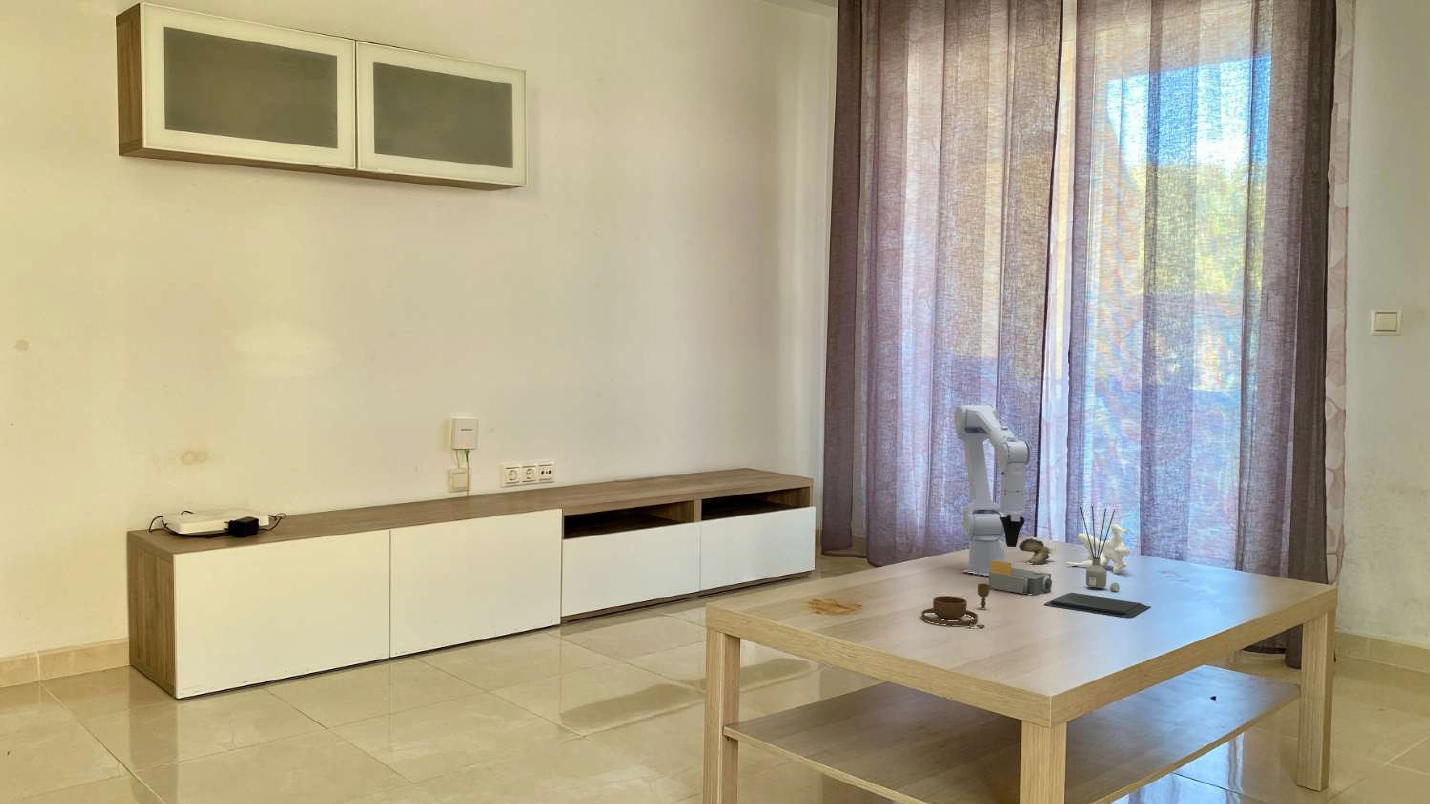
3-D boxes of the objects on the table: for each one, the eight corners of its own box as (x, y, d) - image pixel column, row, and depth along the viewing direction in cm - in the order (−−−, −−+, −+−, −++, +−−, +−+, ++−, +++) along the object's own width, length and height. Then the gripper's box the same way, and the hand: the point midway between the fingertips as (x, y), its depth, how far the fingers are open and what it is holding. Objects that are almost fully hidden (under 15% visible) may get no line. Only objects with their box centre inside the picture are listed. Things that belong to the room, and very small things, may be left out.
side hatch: (992, 587, 268) (992, 559, 267) (1028, 593, 261) (1029, 565, 261) (989, 588, 267) (990, 560, 267) (1026, 594, 260) (1026, 566, 260)
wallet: (1041, 599, 251) (1067, 588, 263) (1040, 607, 251) (1067, 596, 263) (1129, 614, 238) (1153, 602, 250) (1129, 622, 238) (1153, 610, 250)
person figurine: (1061, 525, 298) (1126, 521, 285) (1083, 531, 306) (1147, 527, 294) (1062, 574, 295) (1128, 572, 282) (1084, 578, 303) (1149, 577, 291)
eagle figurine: (1027, 553, 309) (1012, 551, 303) (1043, 533, 307) (1028, 531, 300) (1047, 571, 304) (1032, 570, 298) (1063, 551, 302) (1048, 549, 296)
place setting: (904, 614, 243) (904, 587, 243) (983, 608, 249) (984, 582, 249) (945, 634, 226) (946, 605, 226) (1029, 627, 233) (1030, 599, 233)
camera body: (1005, 582, 275) (1005, 564, 274) (1053, 591, 266) (1054, 572, 266) (989, 587, 269) (989, 569, 268) (1037, 596, 260) (1038, 577, 260)
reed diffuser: (1074, 587, 270) (1076, 506, 269) (1083, 583, 276) (1085, 503, 275) (1116, 593, 264) (1119, 510, 263) (1125, 588, 270) (1127, 506, 269)
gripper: (992, 486, 276) (991, 540, 276) (998, 494, 261) (997, 551, 262) (1021, 487, 275) (1020, 541, 275) (1029, 495, 260) (1028, 552, 261)
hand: (1011, 546), depth 269 cm, fingers closed
